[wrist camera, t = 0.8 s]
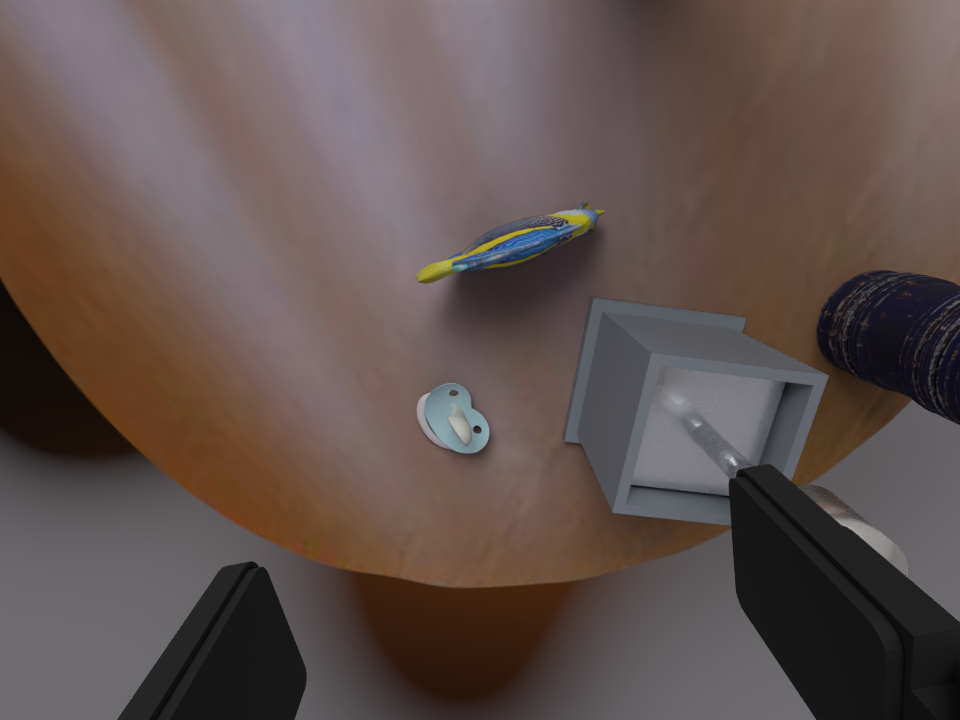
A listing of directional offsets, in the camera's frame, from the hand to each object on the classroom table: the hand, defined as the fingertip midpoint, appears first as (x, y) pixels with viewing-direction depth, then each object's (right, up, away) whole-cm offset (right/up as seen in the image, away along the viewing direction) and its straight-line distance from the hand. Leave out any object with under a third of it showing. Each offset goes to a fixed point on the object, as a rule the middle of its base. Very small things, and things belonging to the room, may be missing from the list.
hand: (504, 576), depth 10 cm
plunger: (+16, -1, +28) cm, 32 cm away
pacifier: (-3, -1, +39) cm, 40 cm away
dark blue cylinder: (+35, +8, +37) cm, 52 cm away
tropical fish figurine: (+2, +15, +34) cm, 38 cm away
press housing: (+16, +3, +38) cm, 41 cm away
